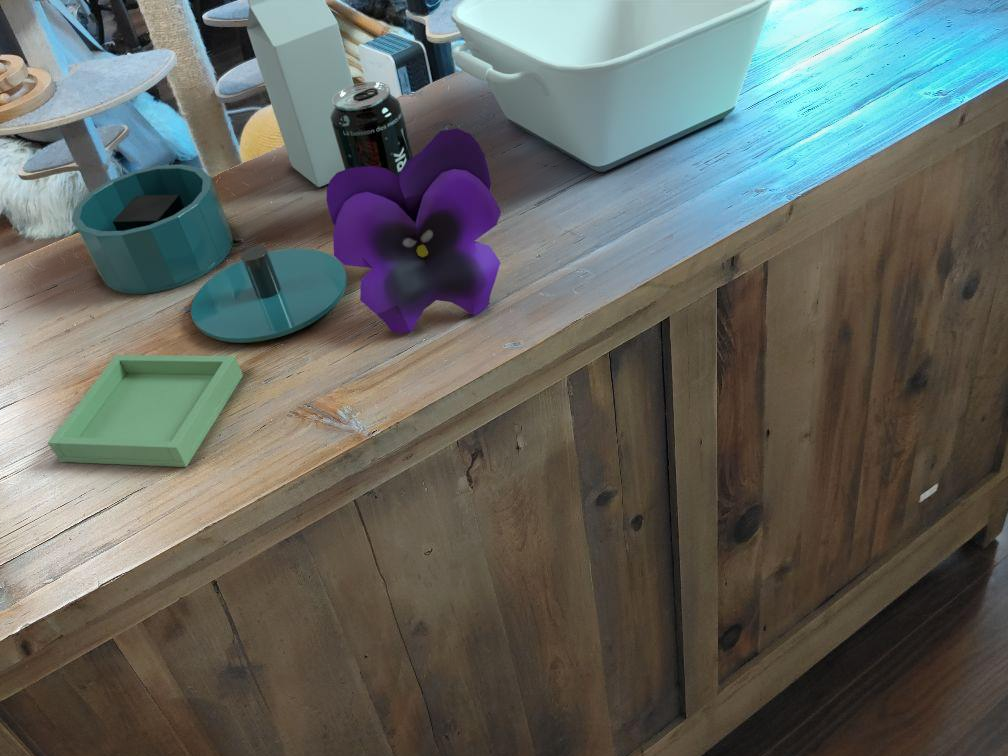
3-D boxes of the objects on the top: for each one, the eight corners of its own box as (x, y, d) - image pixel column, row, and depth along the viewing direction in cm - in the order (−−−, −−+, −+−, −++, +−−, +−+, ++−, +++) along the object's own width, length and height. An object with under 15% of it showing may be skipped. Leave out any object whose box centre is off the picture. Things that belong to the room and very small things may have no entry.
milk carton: (375, 165, 111) (326, -21, 98) (318, 189, 109) (260, 2, 95) (347, 145, 116) (296, -35, 102) (292, 168, 114) (232, -13, 100)
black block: (133, 266, 102) (111, 221, 98) (155, 239, 105) (135, 195, 102) (177, 265, 101) (157, 220, 97) (198, 239, 104) (179, 194, 101)
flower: (360, 335, 98) (361, 348, 85) (312, 175, 93) (305, 165, 80) (505, 296, 99) (526, 303, 86) (464, 137, 94) (481, 120, 82)
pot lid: (168, 347, 92) (145, 299, 88) (232, 259, 101) (214, 212, 98) (317, 349, 88) (300, 299, 85) (369, 257, 98) (355, 209, 94)
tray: (59, 462, 82) (47, 442, 81) (125, 373, 90) (115, 354, 88) (186, 467, 79) (176, 447, 78) (243, 375, 87) (235, 355, 85)
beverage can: (435, 210, 102) (408, 92, 94) (376, 236, 100) (343, 118, 92) (405, 187, 107) (377, 72, 98) (348, 211, 105) (314, 96, 96)
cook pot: (77, 294, 101) (46, 236, 96) (139, 222, 109) (113, 166, 105) (199, 294, 97) (173, 234, 93) (253, 220, 106) (231, 162, 102)
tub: (559, 225, 97) (541, 92, 88) (427, 139, 114) (401, 20, 105) (821, 103, 107) (830, -28, 98) (665, 41, 124) (660, -76, 115)
